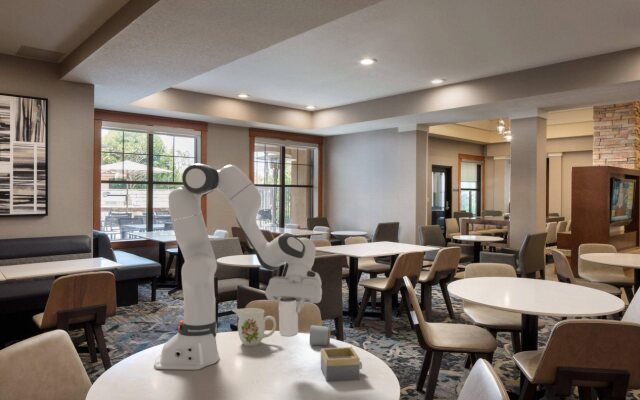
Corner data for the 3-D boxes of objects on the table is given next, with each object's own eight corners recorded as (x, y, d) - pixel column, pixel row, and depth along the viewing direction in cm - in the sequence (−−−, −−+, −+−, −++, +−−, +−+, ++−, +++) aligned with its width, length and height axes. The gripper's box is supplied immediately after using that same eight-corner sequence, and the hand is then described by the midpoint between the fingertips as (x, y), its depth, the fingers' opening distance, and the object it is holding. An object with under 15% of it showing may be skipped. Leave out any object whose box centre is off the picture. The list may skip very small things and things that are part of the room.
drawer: (326, 381, 142) (326, 360, 142) (320, 368, 153) (320, 348, 153) (365, 379, 145) (365, 357, 145) (356, 366, 155) (357, 346, 155)
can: (300, 331, 154) (299, 297, 154) (295, 337, 148) (294, 301, 148) (282, 330, 156) (281, 296, 155) (277, 336, 149) (276, 301, 149)
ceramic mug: (329, 348, 174) (329, 328, 175) (309, 347, 175) (309, 328, 175) (330, 339, 185) (330, 321, 185) (311, 339, 185) (311, 321, 186)
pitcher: (275, 347, 175) (275, 312, 175) (229, 348, 173) (230, 313, 173) (276, 338, 186) (276, 306, 186) (233, 339, 184) (233, 306, 184)
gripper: (268, 271, 161) (258, 304, 151) (322, 273, 155) (315, 308, 146) (273, 281, 165) (263, 313, 156) (325, 283, 160) (318, 317, 150)
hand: (288, 311), depth 151 cm, fingers closed on can, 5 cm apart
